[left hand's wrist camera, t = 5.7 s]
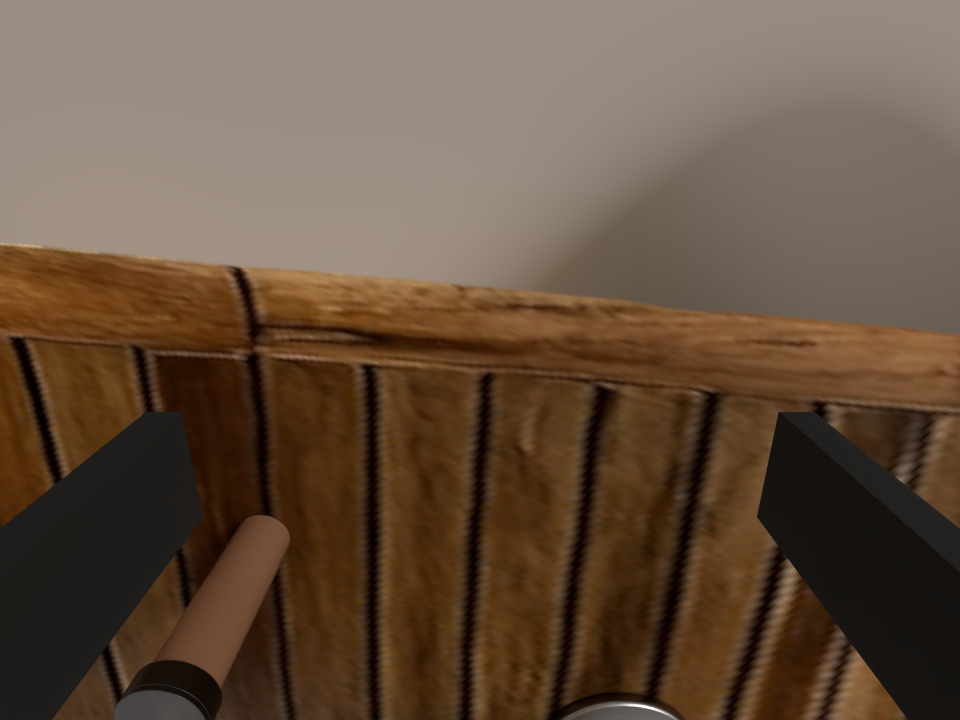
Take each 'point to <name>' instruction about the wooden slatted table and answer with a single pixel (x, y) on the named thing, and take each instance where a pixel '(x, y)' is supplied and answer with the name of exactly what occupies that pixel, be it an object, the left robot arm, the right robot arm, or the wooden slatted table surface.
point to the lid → (170, 693)
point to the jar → (229, 598)
